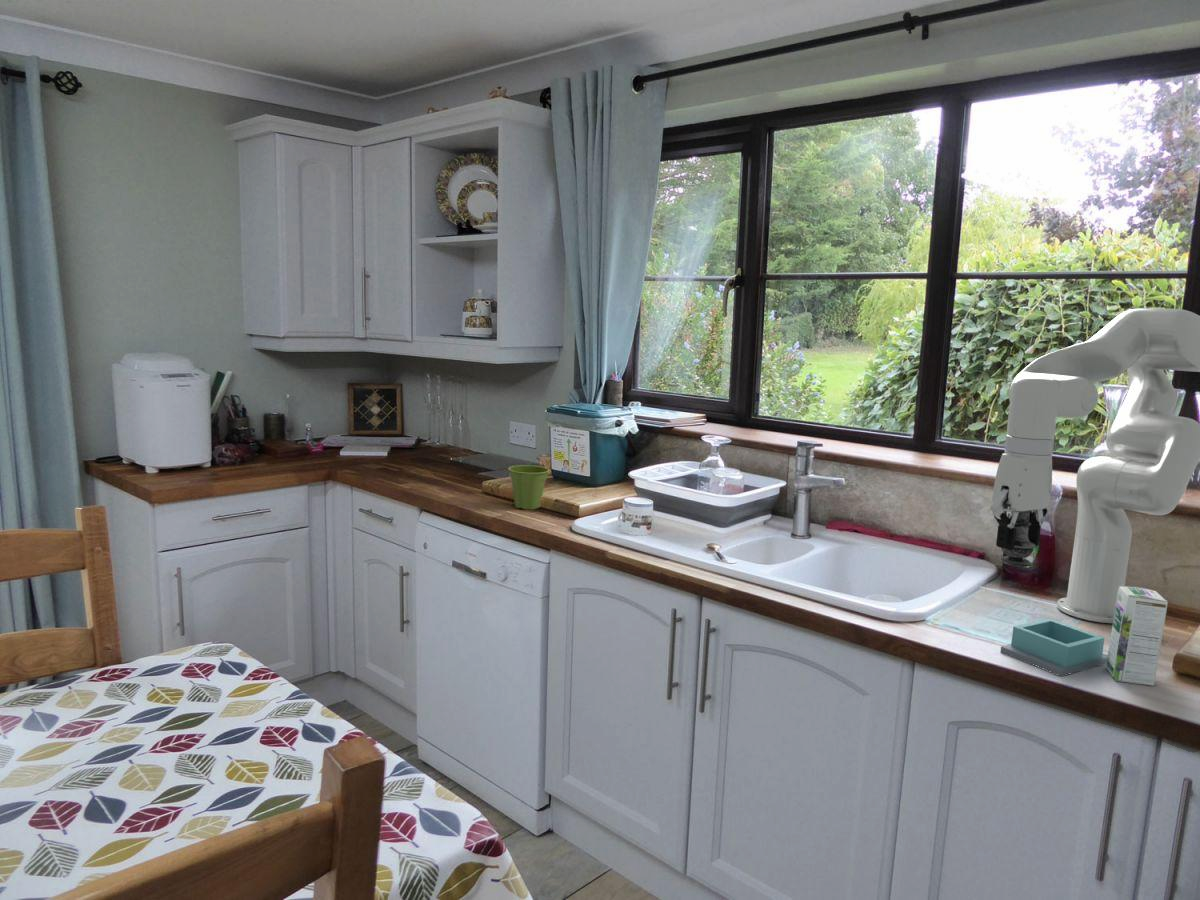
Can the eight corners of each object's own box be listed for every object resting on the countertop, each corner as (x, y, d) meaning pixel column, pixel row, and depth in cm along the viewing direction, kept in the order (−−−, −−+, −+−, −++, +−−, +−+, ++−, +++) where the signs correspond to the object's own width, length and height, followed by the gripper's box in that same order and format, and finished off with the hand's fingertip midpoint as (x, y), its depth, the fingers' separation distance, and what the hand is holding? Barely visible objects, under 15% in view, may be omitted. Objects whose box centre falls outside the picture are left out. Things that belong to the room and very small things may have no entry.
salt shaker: (1023, 557, 153) (1030, 493, 151) (1040, 567, 148) (1048, 501, 146) (991, 557, 153) (998, 493, 151) (1007, 566, 147) (1014, 500, 146)
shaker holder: (1050, 639, 152) (1053, 615, 152) (1111, 662, 143) (1114, 637, 142) (1000, 651, 146) (1003, 627, 145) (1060, 676, 136) (1064, 650, 136)
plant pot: (523, 513, 233) (524, 474, 231) (499, 505, 242) (500, 467, 240) (556, 508, 240) (558, 470, 239) (532, 500, 249) (533, 463, 247)
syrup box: (1104, 667, 141) (1116, 584, 138) (1144, 673, 139) (1157, 589, 137) (1114, 681, 135) (1127, 595, 133) (1156, 687, 134) (1169, 600, 131)
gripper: (1040, 441, 154) (1029, 536, 157) (977, 445, 146) (966, 545, 149) (1080, 448, 148) (1067, 547, 151) (1015, 452, 140) (1003, 557, 143)
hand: (1017, 545), depth 150 cm, fingers closed on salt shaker, 5 cm apart
